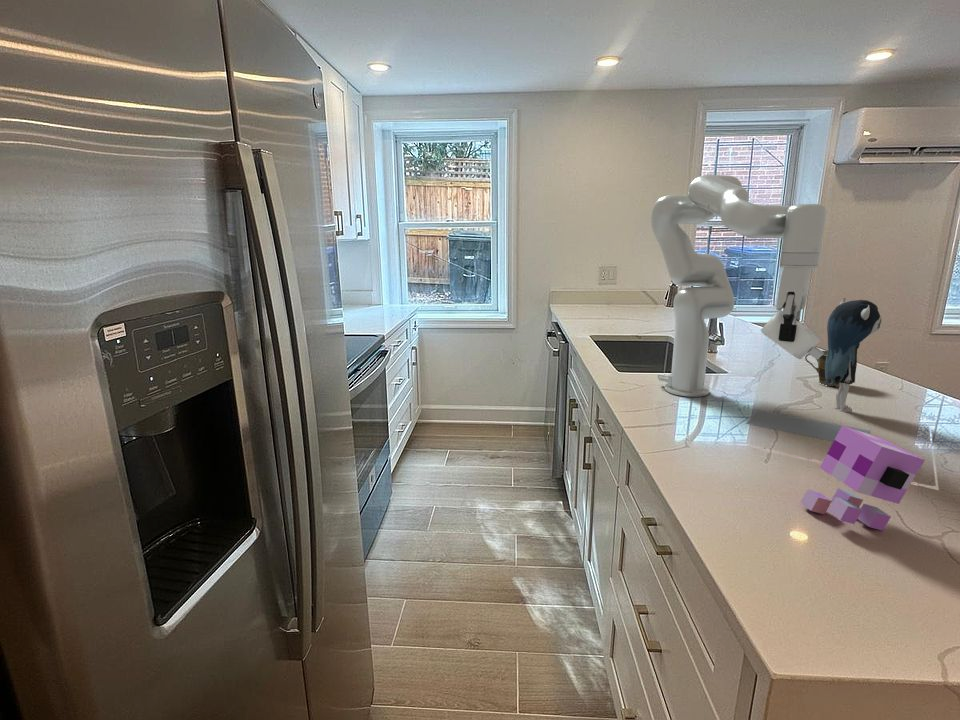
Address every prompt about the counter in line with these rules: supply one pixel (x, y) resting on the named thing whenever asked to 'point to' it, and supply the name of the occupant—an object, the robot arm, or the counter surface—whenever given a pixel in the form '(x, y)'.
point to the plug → (803, 338)
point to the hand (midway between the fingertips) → (788, 338)
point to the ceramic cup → (822, 369)
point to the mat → (797, 425)
